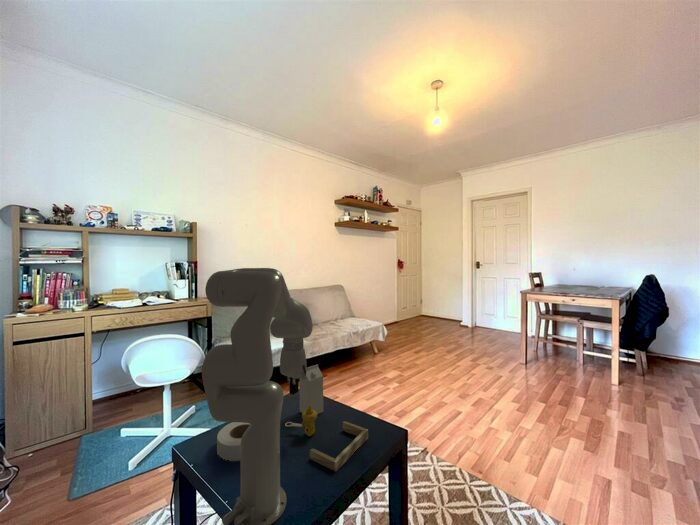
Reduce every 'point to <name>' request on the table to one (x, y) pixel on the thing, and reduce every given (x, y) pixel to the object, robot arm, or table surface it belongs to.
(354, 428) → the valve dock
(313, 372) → the milk carton
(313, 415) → the pressure relief valve
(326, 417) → the table surface
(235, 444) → the roll of tape
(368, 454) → the table surface
